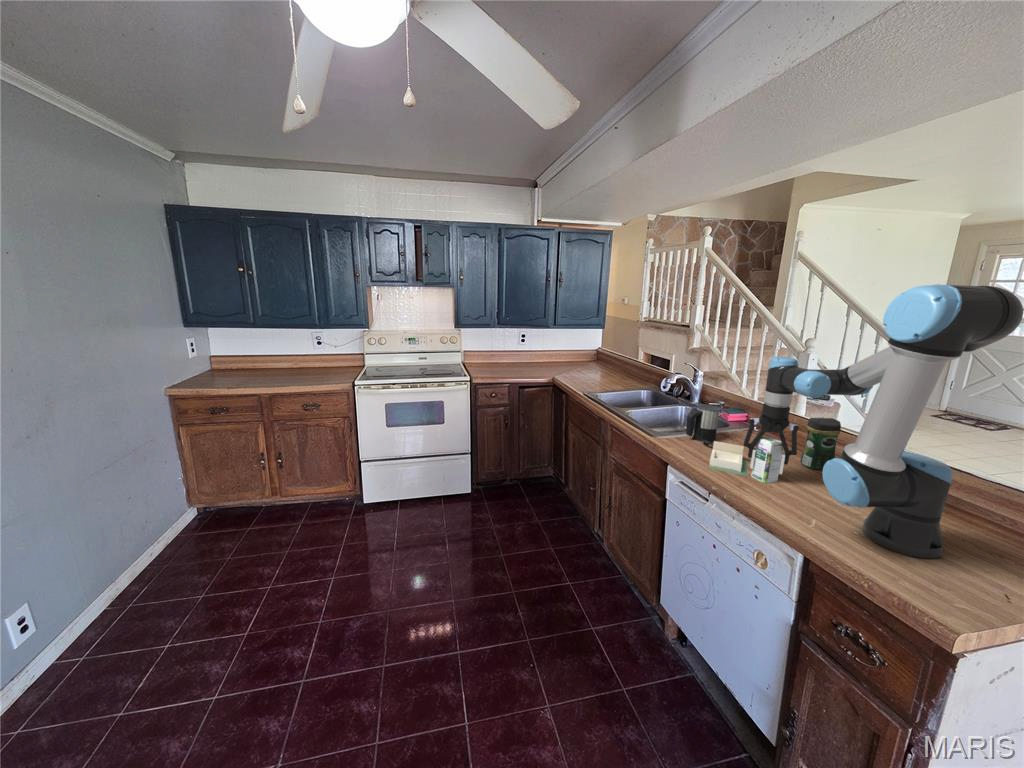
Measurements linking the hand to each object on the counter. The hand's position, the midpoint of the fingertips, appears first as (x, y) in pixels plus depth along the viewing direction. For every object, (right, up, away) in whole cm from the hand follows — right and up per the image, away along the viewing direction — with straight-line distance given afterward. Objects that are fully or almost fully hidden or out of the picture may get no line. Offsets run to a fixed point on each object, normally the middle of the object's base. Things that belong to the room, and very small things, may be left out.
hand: (765, 469), depth 138 cm
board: (-6, -1, +12) cm, 14 cm away
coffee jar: (+27, -2, +13) cm, 30 cm away
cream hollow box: (-7, 0, +12) cm, 14 cm away
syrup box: (0, -4, +1) cm, 4 cm away
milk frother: (-3, +4, +34) cm, 35 cm away
